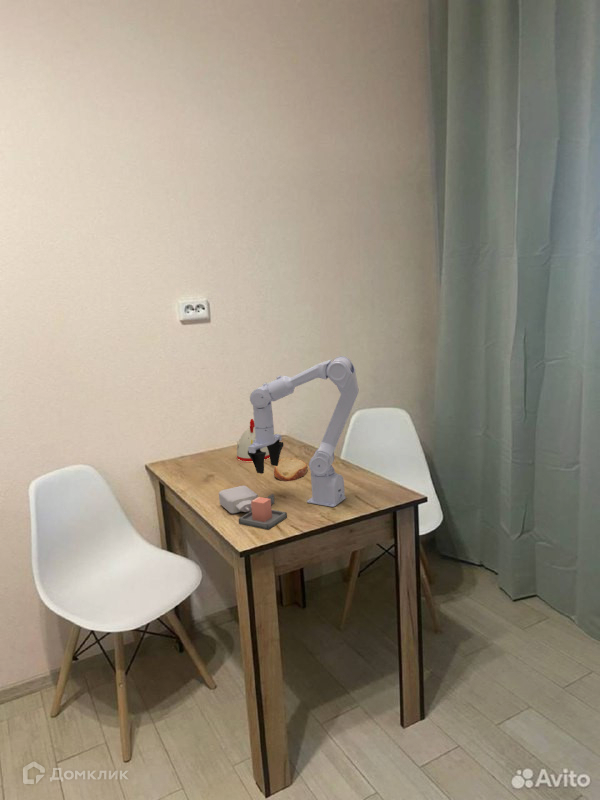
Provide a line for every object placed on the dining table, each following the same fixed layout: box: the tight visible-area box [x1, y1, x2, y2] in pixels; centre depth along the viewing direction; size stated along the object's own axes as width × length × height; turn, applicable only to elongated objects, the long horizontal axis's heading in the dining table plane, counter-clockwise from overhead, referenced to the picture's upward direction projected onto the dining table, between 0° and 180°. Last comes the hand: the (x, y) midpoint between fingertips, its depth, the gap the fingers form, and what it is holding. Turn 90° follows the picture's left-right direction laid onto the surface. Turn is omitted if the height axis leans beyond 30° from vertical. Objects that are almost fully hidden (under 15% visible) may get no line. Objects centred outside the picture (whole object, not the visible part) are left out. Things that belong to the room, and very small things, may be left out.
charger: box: [218, 485, 259, 514], centre depth 174 cm, size 5×9×15 cm
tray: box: [238, 509, 288, 531], centre depth 165 cm, size 10×9×2 cm
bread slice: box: [273, 457, 309, 482], centre depth 207 cm, size 18×18×4 cm
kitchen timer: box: [236, 418, 270, 461], centre depth 225 cm, size 14×14×15 cm
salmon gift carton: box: [251, 496, 273, 522], centre depth 165 cm, size 4×4×6 cm
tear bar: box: [266, 493, 275, 506], centre depth 175 cm, size 1×6×3 cm, turn 148°
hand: (267, 469), depth 179 cm, fingers open, 7 cm apart
